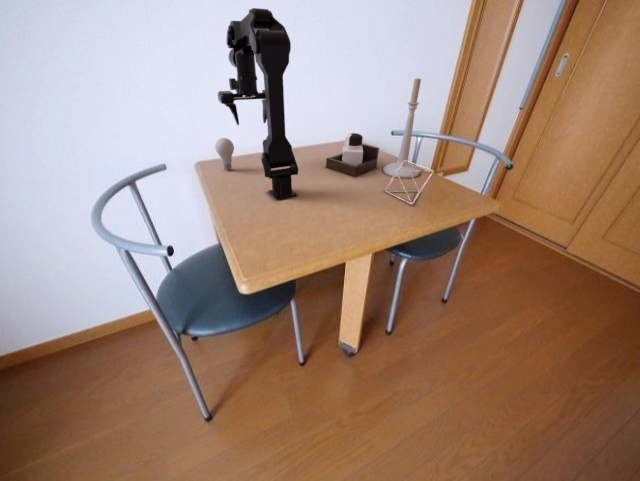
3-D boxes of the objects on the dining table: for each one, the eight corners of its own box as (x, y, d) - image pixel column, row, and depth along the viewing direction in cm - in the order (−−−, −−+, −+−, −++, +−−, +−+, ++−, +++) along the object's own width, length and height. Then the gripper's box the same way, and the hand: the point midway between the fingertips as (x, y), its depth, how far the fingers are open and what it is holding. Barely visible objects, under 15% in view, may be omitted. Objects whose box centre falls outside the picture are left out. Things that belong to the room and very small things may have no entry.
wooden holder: (354, 177, 99) (356, 155, 95) (326, 167, 106) (326, 147, 102) (376, 167, 107) (379, 147, 103) (348, 159, 114) (349, 140, 110)
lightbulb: (238, 171, 101) (233, 139, 94) (220, 173, 99) (214, 141, 93) (235, 166, 105) (231, 135, 99) (218, 168, 103) (212, 136, 97)
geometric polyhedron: (380, 198, 85) (384, 168, 80) (390, 185, 93) (394, 157, 88) (422, 207, 80) (430, 177, 75) (429, 193, 89) (436, 164, 83)
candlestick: (426, 175, 102) (449, 78, 85) (397, 180, 97) (416, 79, 80) (403, 164, 111) (419, 75, 95) (376, 168, 107) (388, 75, 90)
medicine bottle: (360, 165, 109) (364, 132, 103) (361, 171, 103) (364, 137, 97) (342, 164, 110) (344, 131, 103) (341, 170, 104) (343, 136, 97)
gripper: (267, 68, 99) (269, 116, 108) (210, 68, 91) (218, 120, 101) (278, 72, 91) (280, 124, 100) (217, 73, 84) (225, 128, 93)
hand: (251, 124), depth 99 cm, fingers open, 9 cm apart
